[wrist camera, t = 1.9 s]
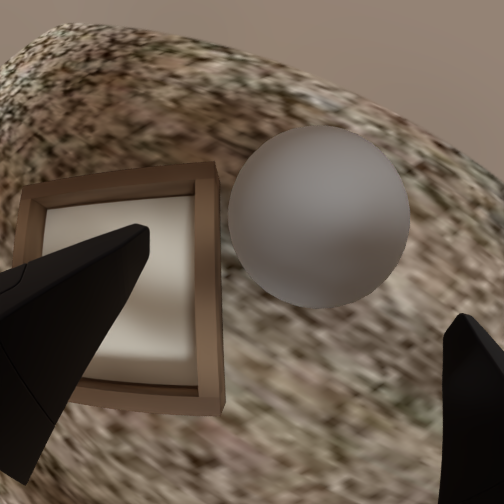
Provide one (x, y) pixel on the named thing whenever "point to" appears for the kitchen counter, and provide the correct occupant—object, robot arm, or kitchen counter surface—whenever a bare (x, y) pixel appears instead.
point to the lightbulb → (318, 217)
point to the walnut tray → (145, 282)
